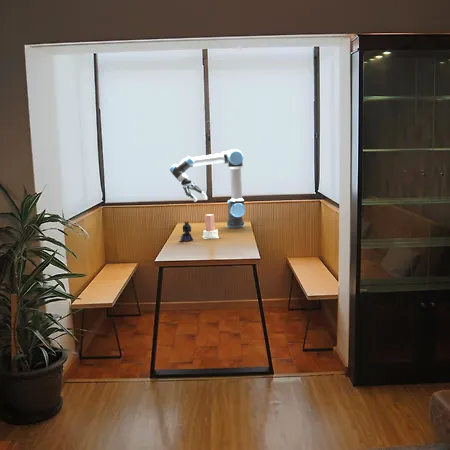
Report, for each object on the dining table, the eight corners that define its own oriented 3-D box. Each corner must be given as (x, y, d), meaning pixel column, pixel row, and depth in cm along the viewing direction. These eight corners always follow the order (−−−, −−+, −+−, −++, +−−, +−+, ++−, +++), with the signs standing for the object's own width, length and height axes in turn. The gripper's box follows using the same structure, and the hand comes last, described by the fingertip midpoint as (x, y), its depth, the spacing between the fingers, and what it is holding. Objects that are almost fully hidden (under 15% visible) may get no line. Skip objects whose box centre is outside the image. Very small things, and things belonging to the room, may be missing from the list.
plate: (216, 236, 410) (216, 235, 410) (219, 239, 400) (219, 237, 400) (202, 238, 409) (202, 236, 408) (204, 240, 398) (204, 239, 398)
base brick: (209, 235, 409) (209, 229, 409) (218, 236, 405) (217, 230, 404) (203, 237, 403) (202, 231, 402) (211, 238, 398) (211, 231, 398)
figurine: (194, 242, 392) (192, 222, 390) (177, 242, 395) (176, 222, 392) (197, 240, 400) (195, 220, 398) (181, 240, 403) (179, 220, 400)
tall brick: (209, 229, 407) (208, 214, 405) (214, 230, 404) (214, 214, 402) (205, 230, 403) (204, 215, 401) (211, 231, 400) (210, 215, 398)
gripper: (191, 182, 436) (207, 200, 430) (172, 185, 416) (189, 205, 410) (196, 175, 433) (213, 194, 427) (177, 178, 412) (194, 198, 406)
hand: (201, 199), depth 418 cm, fingers open, 13 cm apart
